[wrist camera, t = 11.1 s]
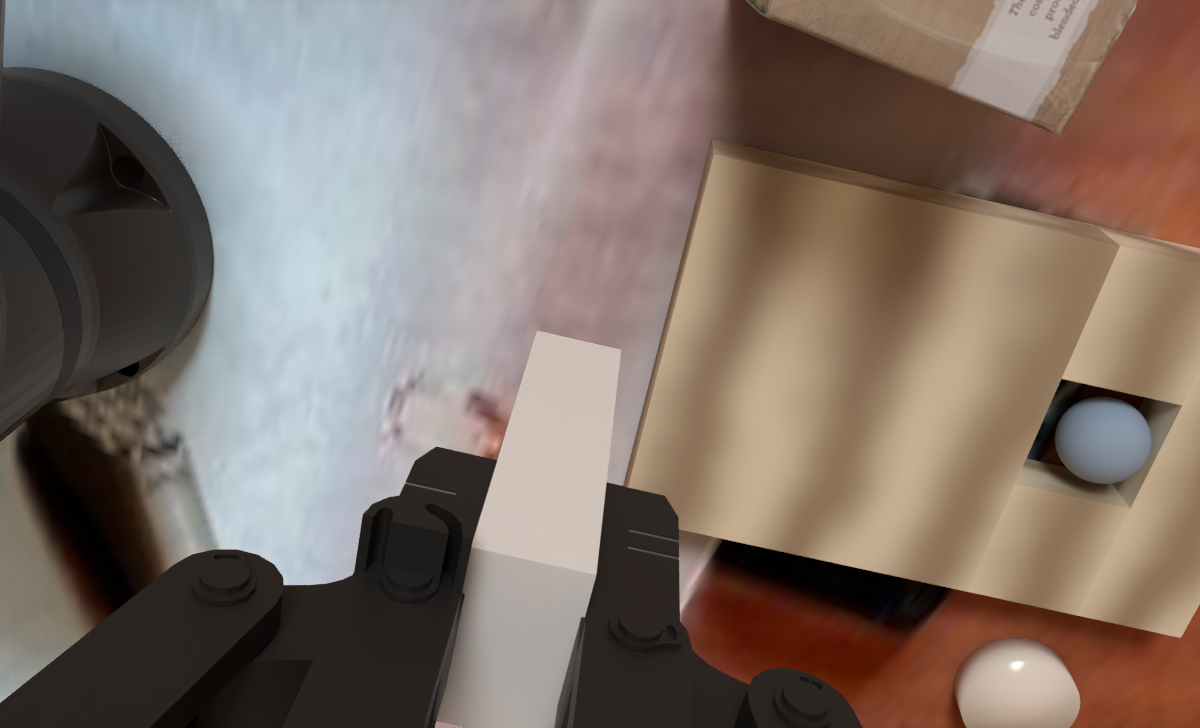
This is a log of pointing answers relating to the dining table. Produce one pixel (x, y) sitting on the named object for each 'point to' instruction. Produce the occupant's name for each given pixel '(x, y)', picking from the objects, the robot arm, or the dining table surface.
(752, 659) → the dining table surface
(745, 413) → the board
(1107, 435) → the ball
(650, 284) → the dining table surface
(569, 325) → the dining table surface
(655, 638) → the robot arm
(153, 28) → the dining table surface
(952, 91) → the tea box
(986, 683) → the glossy white dome
